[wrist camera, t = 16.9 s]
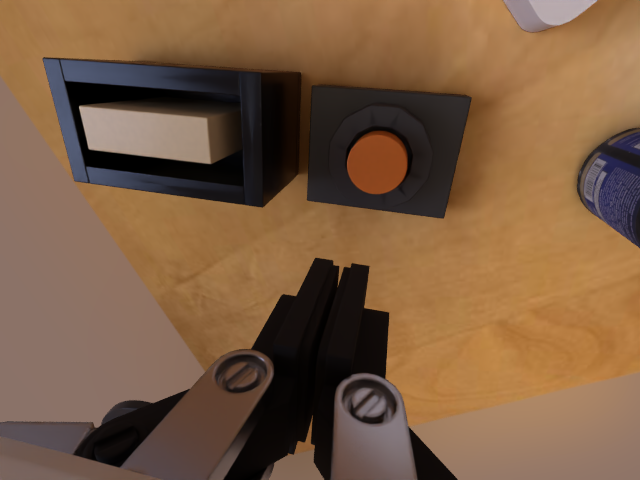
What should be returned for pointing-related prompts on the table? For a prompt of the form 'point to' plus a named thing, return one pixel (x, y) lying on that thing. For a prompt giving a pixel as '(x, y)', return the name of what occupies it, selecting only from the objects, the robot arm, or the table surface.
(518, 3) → the u-slot stand
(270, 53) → the table surface
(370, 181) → the button
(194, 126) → the white flat square block
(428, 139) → the button box
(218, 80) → the toaster
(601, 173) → the pill bottle
